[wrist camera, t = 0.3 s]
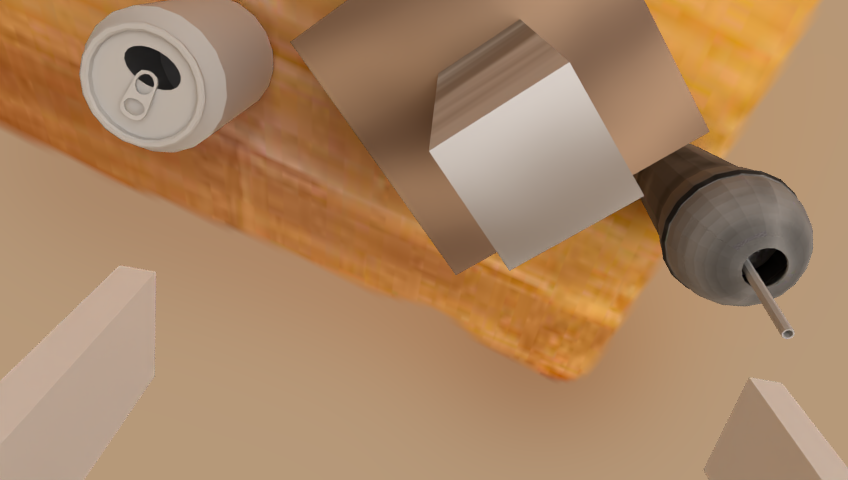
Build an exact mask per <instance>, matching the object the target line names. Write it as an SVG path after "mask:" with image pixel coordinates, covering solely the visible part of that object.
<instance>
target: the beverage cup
mask: <svg viewBox="0 0 848 480" xmlns="http://www.w3.org/2000/svg"><path fill="white" fill-rule="evenodd" d="M633 177H634V178H635V180H636V182H637V184H638V186H639V187H640V189H641V191H642V193H643V194H644V196H643V197H641V198H640V199H641V200H642V202H643V204H644V206H645V208H646V210H647V212H648V214H649V216H650V218H651V220H652V222H653V224H654V226H655V228H656V230H657V232H658V234H659V238H660V244H661V248H662V254H663V259H664V261H665V263H666V265H667V267H668V268H669V271H670V273H671V274H672V275H673V276H674V277H675V278H676V279H677V280H678V281H679V282H681V283H682V284H683V285H684V286H685V287H687V288H688V289H691V290H692V291H693V292H694V293H696V294H697V295H699V296H701V297H703V298H706V299H709V300H711V301H714V302H716V303H719V304H722V305H733V306H750V305H755V304H761V303H762V304H763V306H764V308H765V309H766V311H767V312H768V314H769V316H770V318H771V319H772V321H773V323H774V324H775V326H776V328H777V329H778V331H779V332H780V334H781V336H782V337H783V338H785V339H789V338H792V337H793V336H794V330H793V329H792V327H791V326H790V324H789V322H788V321H787V319H786V318H785V316H784V314H783V313H782V311H781V310H780V308H779V307H778V305H777V304H776V302H775V300H774V298H776V297H778V296H780V295H782V294H783V293H784V292H786V291H787V290H788V289H790V288H791V287H792V286H793V285H795V284H796V282H797V281H798V280H799V278H800V277H801V276H802V274H803V273H804V272H805V270H806V269H807V266H808V263H809V260H810V257H811V254H812V250H813V230H812V226H811V223H810V221H809V218H808V216H807V214H806V211H805V209H804V207H803V205H802V204H801V202H800V201H799V200H798V199H797V196H796V195H795V193H794V192H793V191H792V190H791V189H790V188H789V187H788V186H787V185H786V184H785V183H784V182H783V181H782V180H781V179H778V178H776V177H774V176H771V175H769V174H767V173H764V172H762V171H754V170H751V169H747V168H743V167H737V166H735V165H733V164H731V163H729V162H727V161H725V160H723V159H721V158H719V157H717V156H715V155H713V154H711V153H709V152H707V151H705V150H703V149H701V148H699V147H696V146H694V145H692V144H687V145H685V146H683V147H682V148H680V149H678V150H676V151H675V152H673V153H671V154H669V155H668V156H666V157H664V158H662V159H660V160H659V161H657V162H655V163H653V164H652V165H650V166H648V167H646V168H645V169H643V170H641V171H639V172H637V173H636V174H634V175H633Z"/></svg>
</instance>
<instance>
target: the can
mask: <svg viewBox="0 0 848 480" xmlns="http://www.w3.org/2000/svg"><path fill="white" fill-rule="evenodd" d="M272 73H273V50H272V48H271V45H270V42H269V39H268V36H267V33H266V31H265V30H264V29H263V27H262V26H261V24H260V23H259V22H258V20H257V19H256V17H255V16H254V15H253V14H251V13H250V12H249V11H248V10H246V9H245V8H244V7H242V6H241V5H240V4H238V3H236V2H233V1H231V0H168V1H161V2H154V3H147V4H140V5H134V6H130V7H127V8H124V9H121V10H118V11H114V12H112V13H111V14H110V15H108V16H107V17H106V18H105V19H103V20H102V21H101V22H100V23H99V24H97V25H96V26H95V28H94V30H93V32H92V34H91V35H90V37H89V39H88V41H87V43H86V44H85V51H84V53H83V54H82V60H81V66H80V73H79V75H80V81H81V86H82V92H83V95H84V98H85V100H86V102H87V104H88V106H89V108H90V110H91V112H92V114H93V115H94V116H95V117H96V118H97V119H98V121H99V122H100V123H101V124H102V125H103V126H104V128H105V129H107V130H108V131H109V132H111V133H112V134H114V135H115V136H117V137H118V138H119V139H121V140H122V141H125V142H128V143H131V144H133V145H136V146H139V147H142V148H145V149H148V150H151V151H159V152H177V151H181V150H185V149H188V148H192V147H195V146H196V145H198V144H199V143H200V142H202V141H203V140H205V139H206V138H207V137H209V136H210V135H212V134H213V133H214V132H216V131H217V130H219V129H220V128H221V127H223V126H224V125H225V124H227V123H228V122H230V121H231V120H232V119H234V118H235V117H236V116H238V115H239V114H241V113H242V112H243V111H245V110H246V109H247V108H249V107H250V106H252V105H253V104H254V103H256V102H257V101H258V100H260V98H261V97H262V95H263V94H264V92H265V91H266V89H267V88H268V87H269V84H270V80H271V76H272Z"/></svg>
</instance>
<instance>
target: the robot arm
mask: <svg viewBox="0 0 848 480" xmlns="http://www.w3.org/2000/svg"><path fill="white" fill-rule="evenodd" d="M155 305H156V272H155V271H150V270H144V269H139V268H133V267H128V266H122V265H119V266H118V267H117V268H116V269H115V270H114V271H113V272H112V273H111V274H110V275H109V276H108V277H107V278H106V279H105V280H104V281H103V282H102V283H101V284H100V285H99V286H98V287H96V289H94V290H93V291H92V292H91V293H90V294H89V295H88V296H87V297H86V298H85V299H84V300H83V301H82V302H81V303H80V304H79V305H78V306H77V307H76V308H75V309H74V310H73V311H72V312H71V313H70V314H69V315H68V316H67V317H66V318H64V319H63V320H62V321H61V322H60V323H59V324H58V326H56V327H55V328H54V329H53V330H52V331H51V332H50V333H49V334H48V335H47V336H46V337H45V338H44V339H43V340H42V341H41V342H40V343H39V344H38V345H37V346H36V347H35V348H34V349H33V350H32V351H30V352H29V353H28V354H27V355H26V356H25V357H24V358H23V359H22V360H21V361H20V362H19V363H18V364H17V365H16V366H15V367H14V368H13V369H12V370H11V371H10V372H9V373H8V374H7V375H6V376H5V377H4V378H3V379H1V380H0V480H84V479H85V477H86V476H87V475H88V473H89V472H90V470H91V469H92V467H93V466H94V464H95V463H96V461H97V460H98V458H99V457H100V455H101V454H102V452H103V451H104V449H105V448H106V447H107V445H108V444H109V442H110V441H111V439H112V438H113V436H114V435H115V433H116V432H117V431H118V429H119V428H120V426H121V425H122V423H123V422H124V420H125V419H126V417H127V416H128V414H129V413H130V411H131V410H132V409H133V407H134V406H135V404H136V402H137V401H138V400H139V398H140V397H141V395H142V394H143V392H144V391H145V389H146V388H147V387H148V385H149V384H150V382H151V381H152V379H153V378H154V376H155V309H156V308H155V307H156V306H155ZM704 471H705V473H706V475H707V477H708V479H709V480H848V467H847V466H846V465H845V464H844V463H843V461H842V460H841V458H840V457H839V456H838V455H837V453H836V452H835V451H834V449H833V448H832V447H831V446H830V444H829V443H828V442H827V440H826V439H825V438H824V437H823V435H822V434H821V433H820V431H819V430H818V429H817V428H816V426H815V425H814V424H813V422H812V421H811V420H810V418H809V417H808V416H807V415H806V413H805V412H804V411H803V409H802V408H801V407H800V406H799V405H798V403H797V402H796V400H795V399H794V398H793V397H792V395H791V394H790V393H789V391H788V390H787V389H786V388H785V386H784V385H783V384H782V383H779V382H773V381H767V380H762V379H756V378H751V377H749V378H748V381H747V383H746V384H745V386H744V389H743V391H742V393H741V395H740V397H739V399H738V401H737V403H736V405H735V407H734V409H733V411H732V413H731V415H730V417H729V419H728V421H727V423H726V425H725V427H724V429H723V431H722V433H721V435H720V437H719V440H718V441H717V443H716V445H715V448H714V450H713V452H712V454H711V456H710V458H709V460H708V462H707V464H706V466H705V468H704Z"/></svg>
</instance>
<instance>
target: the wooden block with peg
mask: <svg viewBox="0 0 848 480" xmlns="http://www.w3.org/2000/svg"><path fill="white" fill-rule="evenodd" d="M291 44H292V45H293V47H294V48H295V49H296V51H297V52H298V54H299V55H300V56H301V58H302V59H303V61H304V62H305V63H306V65H307V66H308V68H309V69H310V70H311V72H312V73H313V75H314V76H315V77H316V79H317V80H318V82H319V83H320V85H321V86H322V87H323V89H324V90H325V92H326V93H327V94H328V96H329V97H330V99H331V100H332V101H333V103H334V104H335V106H336V107H337V108H338V110H339V111H340V113H341V114H342V115H343V117H344V118H345V120H346V121H347V123H348V124H349V125H350V127H351V128H352V130H353V131H354V132H355V134H356V135H357V137H358V138H359V139H360V141H361V142H362V144H363V145H364V146H365V148H366V149H367V151H368V152H369V153H370V155H371V156H372V158H373V159H374V161H375V162H376V163H377V165H378V166H379V168H380V169H381V170H382V172H383V173H384V175H385V176H386V177H387V179H388V180H389V182H390V183H391V184H392V186H393V187H394V189H395V190H396V191H397V193H398V194H399V196H400V197H401V199H402V200H403V201H404V203H405V204H406V206H407V207H408V208H409V210H410V211H411V213H412V214H413V215H414V217H415V218H416V220H417V221H418V222H419V224H420V225H421V227H422V228H423V229H424V231H425V232H426V234H427V235H428V237H429V238H430V239H431V241H432V242H433V244H434V245H435V246H436V248H437V249H438V251H439V252H440V253H441V255H442V256H443V258H444V259H445V260H446V262H447V263H448V265H449V266H450V267H451V269H452V270H453V272H454V273H455V275H457V274H459V273H461V272H463V271H464V270H466V269H468V268H470V267H471V266H473V265H475V264H477V263H478V262H480V261H482V260H484V259H486V258H487V257H489V256H491V255H493V254H494V253H496V252H497V253H498V254H499V256H500V257H501V259H502V260H503V262H504V263H505V265H506V266H507V268H508V269H509V271H510V270H512V269H513V268H515V267H517V266H519V265H521V264H522V263H524V262H526V261H528V260H530V259H531V258H533V257H535V256H537V255H539V254H540V253H542V252H544V251H546V250H548V249H549V248H551V247H553V246H555V245H557V244H558V243H560V242H562V241H564V240H566V239H567V238H569V237H571V236H573V235H575V234H576V233H578V232H580V231H582V230H584V229H586V228H587V227H589V226H591V225H593V224H595V223H596V222H598V221H600V220H602V219H604V218H605V217H607V216H609V215H611V214H613V213H614V212H616V211H618V210H620V209H622V208H623V207H625V206H627V205H629V204H631V203H632V202H634V201H636V200H638V199H640V198H641V197H643V196H644V194H643V193H642V191H641V189H640V187H639V186H638V184H637V182H636V180H635V178H634V177H633V175H634V174H636V173H637V172H639V171H641V170H643V169H645V168H646V167H648V166H650V165H652V164H653V163H655V162H657V161H659V160H660V159H662V158H664V157H666V156H668V155H669V154H671V153H673V152H675V151H676V150H678V149H680V148H682V147H683V146H685V145H687V144H689V143H690V142H692V141H694V140H696V139H698V138H699V137H701V136H703V135H705V134H706V133H708V132H709V130H708V128H707V126H706V124H705V122H704V120H703V117H702V115H701V113H700V111H699V109H698V107H697V105H696V103H695V101H694V99H693V97H692V95H691V93H690V91H689V89H688V87H687V85H686V83H685V81H684V79H683V77H682V75H681V73H680V71H679V69H678V67H677V65H676V63H675V61H674V59H673V57H672V55H671V53H670V51H669V49H668V47H667V45H666V43H665V41H664V39H663V37H662V35H661V33H660V31H659V29H658V27H657V25H656V23H655V21H654V19H653V17H652V15H651V13H650V11H649V9H648V7H647V5H646V3H645V1H644V0H347V1H346V2H344V3H343V4H342V5H340V6H339V7H338V8H336V9H335V10H333V11H332V12H331V13H329V14H328V15H327V16H325V17H324V18H322V19H321V20H320V21H318V22H317V23H316V24H314V25H313V26H312V27H310V28H309V29H307V30H306V31H305V32H303V33H302V34H301V35H299V36H298V37H297V38H295V39H294V40H292V41H291Z"/></svg>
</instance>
